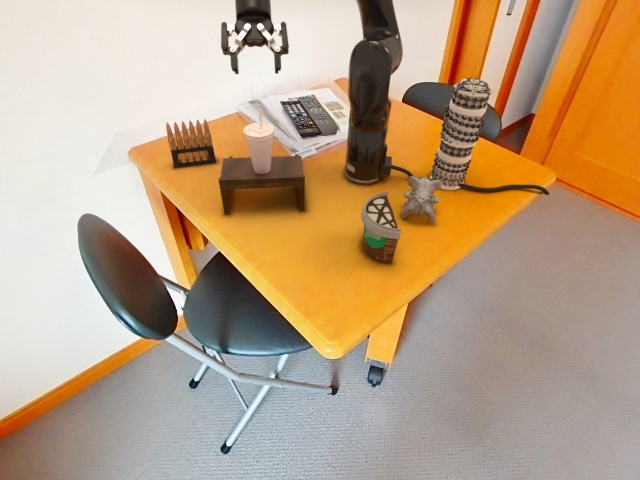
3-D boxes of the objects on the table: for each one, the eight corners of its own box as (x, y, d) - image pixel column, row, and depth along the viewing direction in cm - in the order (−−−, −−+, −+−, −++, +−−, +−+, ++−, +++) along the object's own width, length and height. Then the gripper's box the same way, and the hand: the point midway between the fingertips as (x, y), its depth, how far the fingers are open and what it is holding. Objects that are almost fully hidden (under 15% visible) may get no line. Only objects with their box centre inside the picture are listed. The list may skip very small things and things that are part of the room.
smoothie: (271, 179, 86) (267, 118, 76) (243, 175, 86) (236, 114, 77) (280, 163, 90) (277, 104, 81) (253, 160, 91) (246, 100, 82)
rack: (298, 162, 106) (298, 129, 99) (304, 211, 90) (304, 176, 84) (230, 164, 104) (225, 131, 98) (224, 215, 89) (218, 180, 82)
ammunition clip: (215, 159, 106) (208, 117, 98) (216, 163, 104) (209, 120, 96) (174, 164, 103) (163, 121, 95) (174, 168, 102) (162, 124, 94)
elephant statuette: (401, 225, 88) (407, 197, 82) (392, 193, 96) (397, 166, 91) (442, 225, 88) (451, 198, 83) (430, 193, 97) (437, 166, 92)
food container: (353, 228, 86) (357, 191, 80) (380, 227, 87) (387, 190, 80) (362, 270, 77) (367, 231, 71) (393, 268, 78) (401, 230, 71)
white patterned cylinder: (421, 180, 101) (444, 81, 84) (439, 166, 106) (465, 70, 89) (453, 195, 97) (484, 94, 80) (471, 180, 102) (504, 82, 85)
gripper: (216, -13, 81) (220, 64, 81) (285, -13, 83) (290, 63, 82) (222, 9, 89) (225, 80, 88) (285, 9, 90) (289, 79, 90)
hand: (256, 72), depth 85 cm, fingers open, 8 cm apart
